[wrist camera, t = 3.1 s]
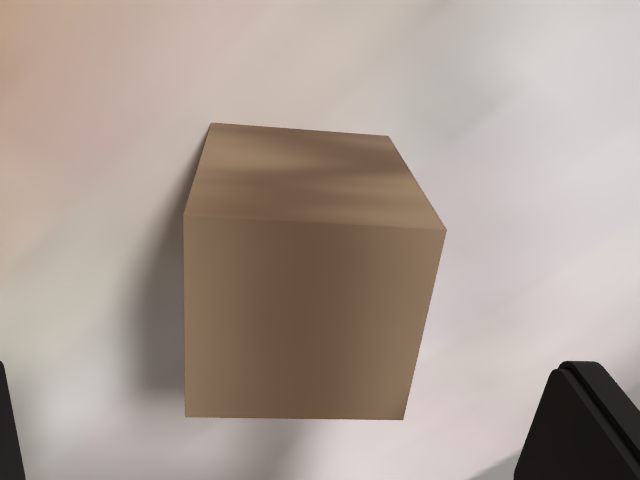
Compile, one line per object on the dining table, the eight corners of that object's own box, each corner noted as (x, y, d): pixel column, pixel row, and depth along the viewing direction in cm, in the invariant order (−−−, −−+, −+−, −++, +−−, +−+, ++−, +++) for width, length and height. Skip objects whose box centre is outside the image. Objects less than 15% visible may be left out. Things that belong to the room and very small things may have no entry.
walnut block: (387, 135, 16) (446, 229, 11) (364, 283, 19) (402, 419, 13) (211, 122, 16) (183, 215, 10) (209, 276, 18) (185, 417, 13)
